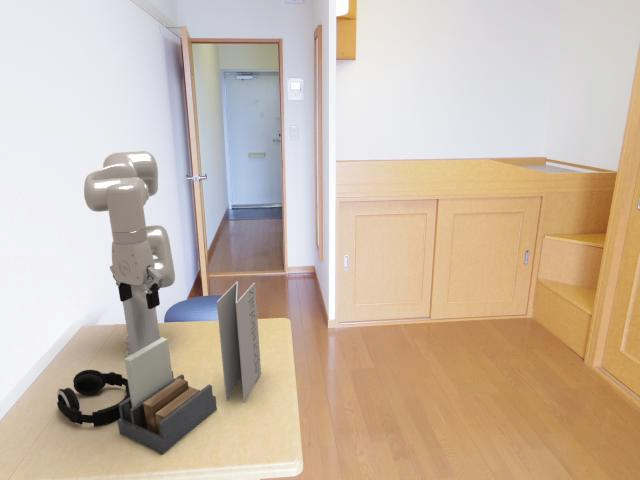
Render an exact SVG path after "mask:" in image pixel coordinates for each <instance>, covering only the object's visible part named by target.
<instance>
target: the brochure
mask: <svg viewBox="0 0 640 480" xmlns="http://www.w3.org/2000/svg"><path fill="white" fill-rule="evenodd" d="M256 289H257V288H256V282H253V283H252V284H251V285H250V286H249V287H248V288H247V290H246V291H245V292H244V293H243V294H242V295H241V296H240V292H239V282H238V280H236V282H235V283H234V284H233V285H232V286H231V287H230V288H229V289H227V291H226V292H225V293H224V294H223V295H222V296H221V297H220V298H219V299H218V300H217V301H216V308H217V309H216V310H217V319H218V328H219V329H218V330H219V331H218V332H219V343H220V352H221V353H220V354H221V360H222V361H221V363H222V373H223V382H224V383H223V384H224V393H225V402H227V401H228V400H229V398H230V397H231V395H232V394H233V393H234V390H235V389H236V387H237V385H238V384H239V383H240V381H241V385H242V386H241V387H242V397H243V398H242V399H243V404H245V403H246V402H247V400H248V398H249V396H250V394H251V393H252V391H253V389H254V388H255V386H256V384H257V382H258V381H259V378H260V377H261V375H262V368H261V367H262V366H261V353H260V352H261V350H260V336H259V335H260V334H259V318H258V307H257V291H256Z"/></svg>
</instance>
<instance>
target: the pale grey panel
mask: <svg viewBox="0 0 640 480" xmlns="http://www.w3.org/2000/svg"><path fill="white" fill-rule="evenodd" d="M170 354H171V353H170V346H169V340H168V338H165V337H163V336H162V337H160V339H158V340H157V341H155V342H153V343H151V344H150V345H148V346H146V347H144V348H143V349H141V350H139V351H137V352H136V353H134V354H132V355H130V356H129V357H127V358H126V357H125V358H124V359H123V361H124V365H125V371H126V377H127V378H126V379H128V385H129V391H130V397H131V403H132V408H133V407H134V406H136V405H137V404H139V403H140V402H142V401H143V400H145V399H146V398H147V397H149V396H150V395H152V394H153V393H155V392H156V391H158V390H159V389H161V388H162V387H163V386H165V385H166V384H168V383H169V382H171V381H172V380H173V376H174V375H173V376H172V371H173V369H172V362H171V361H172V360H171V355H170Z"/></svg>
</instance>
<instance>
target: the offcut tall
mask: <svg viewBox="0 0 640 480" xmlns="http://www.w3.org/2000/svg"><path fill="white" fill-rule="evenodd" d="M188 386H189V383H188V380H185V379H184V380H183V379H180V378H179V379H177V380H176V381H175V382H173V383H172V384H170V385H169V386H167V387H166V388H164V389H163V390H162V391H160V392H159V393H157V394H156V395H154V396H153V397H151V398H150V399H149V400H147V401H146V402H144V403H143V405H144V411H145V418H146V424H147V430H148V431H150V432H152V433H154V434H156V435H158V436H159V434H158V427H157V420H156V414H155V413H157V412H158V411H159V410H161V409H162V408H163V407H165V406H166V405H168V404H169V403H170V402H172V401H173V400H174V399H176V398H177V397H178V396H180V395H181V394H183V393H184V392H185V391H187V390H188V389H189V388H188Z"/></svg>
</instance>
